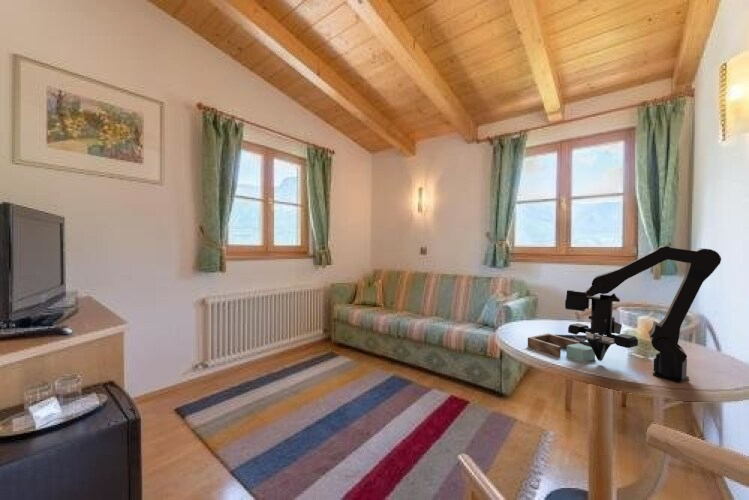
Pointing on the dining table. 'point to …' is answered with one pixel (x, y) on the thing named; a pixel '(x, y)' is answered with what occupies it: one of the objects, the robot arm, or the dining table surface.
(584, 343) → the bracket
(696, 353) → the dining table surface
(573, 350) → the pale green block
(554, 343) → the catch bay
